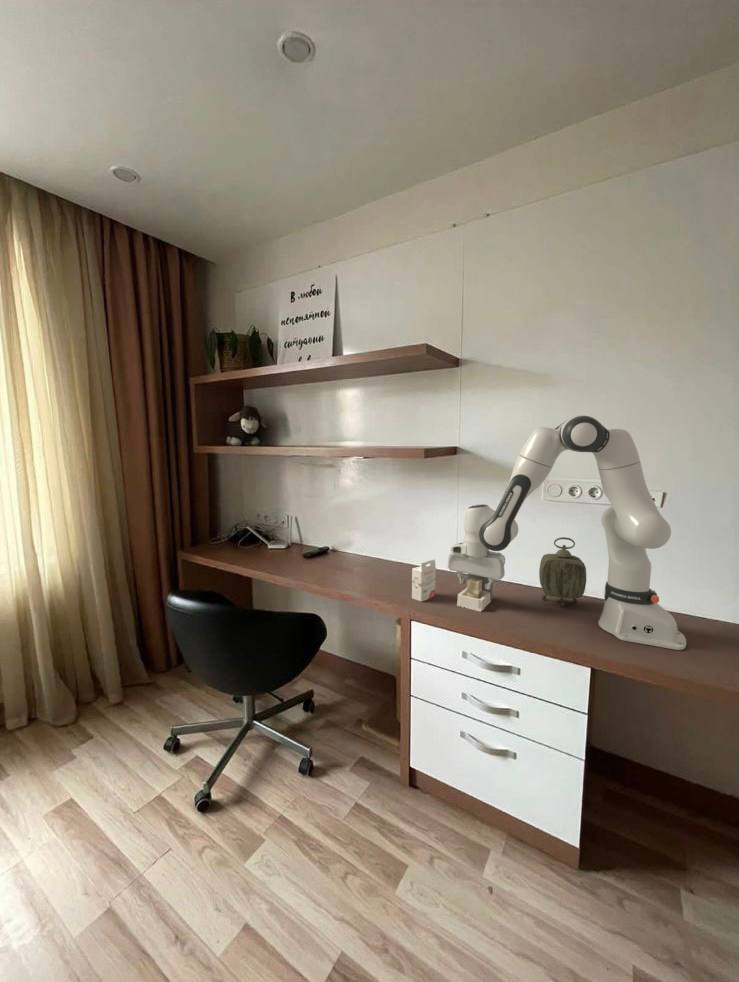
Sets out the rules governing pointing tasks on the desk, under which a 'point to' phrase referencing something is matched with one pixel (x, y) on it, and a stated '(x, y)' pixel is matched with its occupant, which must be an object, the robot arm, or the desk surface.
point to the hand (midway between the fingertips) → (474, 586)
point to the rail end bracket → (474, 588)
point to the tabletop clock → (562, 574)
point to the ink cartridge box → (424, 581)
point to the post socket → (474, 602)
